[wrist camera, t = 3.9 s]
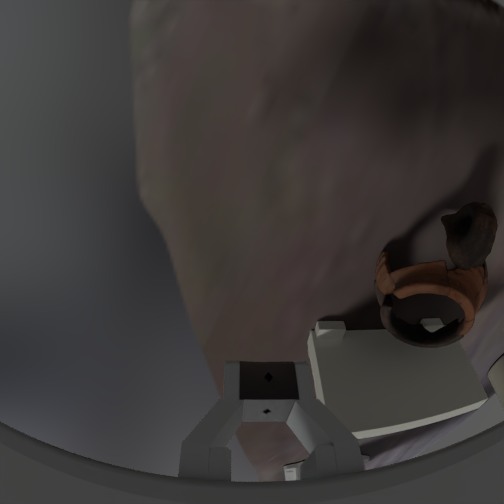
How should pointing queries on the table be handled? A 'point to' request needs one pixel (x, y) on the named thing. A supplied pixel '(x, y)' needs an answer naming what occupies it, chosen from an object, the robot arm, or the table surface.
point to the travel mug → (498, 378)
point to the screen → (390, 379)
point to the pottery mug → (442, 277)
